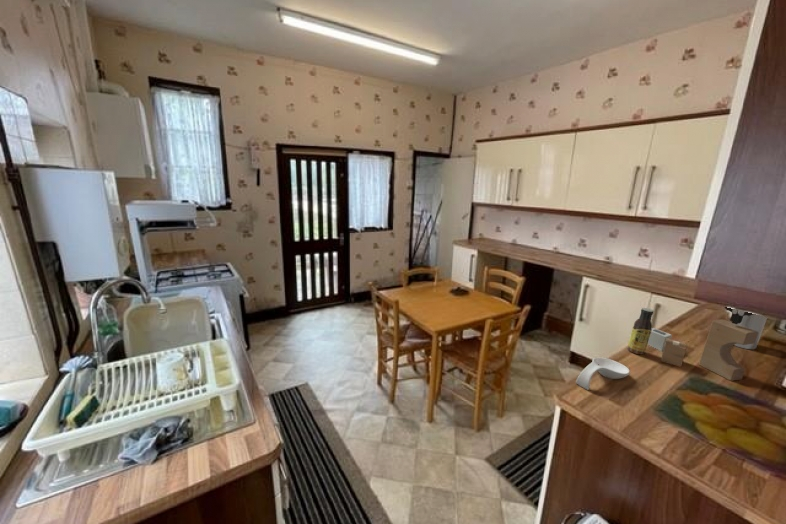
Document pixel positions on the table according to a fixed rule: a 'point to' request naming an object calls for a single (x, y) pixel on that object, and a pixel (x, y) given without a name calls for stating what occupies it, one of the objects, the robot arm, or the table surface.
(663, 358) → the walnut marked block
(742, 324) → the robot arm
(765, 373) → the table surface
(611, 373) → the spoon rest
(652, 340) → the grey marked block
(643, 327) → the sauce bottle
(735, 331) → the decorative block
